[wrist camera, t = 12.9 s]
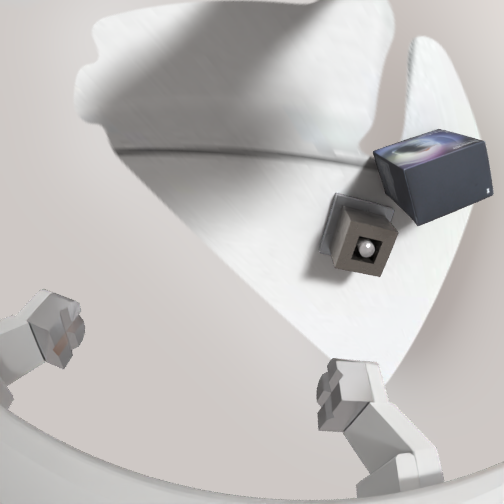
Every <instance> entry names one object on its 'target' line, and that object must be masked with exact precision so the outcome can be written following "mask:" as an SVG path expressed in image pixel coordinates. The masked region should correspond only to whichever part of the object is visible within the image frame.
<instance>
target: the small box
mask: <svg viewBox="0 0 504 504" xmlns="http://www.w3.org/2000/svg"><path fill="white" fill-rule="evenodd" d="M373 155H374V158H375V161H376V164H377V167H378V170H379V173H380V176H381V179H382V183H383V186H384V189H385V193H386V195H388V196H389V197H390V198H391V199H392V200H393V201H394V202H396V203H397V205H399V206H400V207H401V208H402V209H403V210H404V211H405V212H406V213H407V214H408V215H409V216H410V217H411V218H412V220H413V221H414V222H415V223H416V224H417V226H420V225H422V224H425V223H428V222H430V221H433V220H435V219H437V218H440V217H443V216H445V215H447V214H450V213H452V212H455V211H457V210H459V209H462V208H464V207H467V206H469V205H471V204H474V203H476V202H479V201H481V200H483V199H485V198H487V197H490V196H492V195H493V194H494V193H493V186H492V179H491V172H490V165H489V160H488V154H487V149H486V144H485V141H482V140H478V139H475V138H471V137H468V136H464V135H460V134H457V133H453V132H449V131H445V130H441V129H438V130H434V131H431V132H428V133H425V134H422V135H419V136H416V137H413V138H410V139H407V140H404V141H401V142H398V143H395V144H392V145H389V146H386V147H383V148H381V149H378V150H375V151H373Z"/></svg>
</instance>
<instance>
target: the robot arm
mask: <svg viewBox="0 0 504 504" xmlns="http://www.w3.org/2000/svg"><path fill="white" fill-rule="evenodd" d="M80 312H81V308H80V304H79V303H78V302H76V301H74V300H72V299H69V298H66V297H64V296H61V295H59V294H56V293H53V292H50V291H48V290H46V289H42V290H39V292H38V293H37V294H36V295H35V296H34V297H33V298H32V299H31V300H30V301H29V302H28V303H27V304H26V305H25V306H24V307H23V308H22V309H21V311H20V312H19V313H18V314H17V315H16V316H14V315H11V316H9V317H6V318H4V319H1V320H0V504H504V462H501V463H499V464H496V465H494V466H491V467H489V468H486V469H484V470H481V471H478V472H476V473H473V474H470V475H467V476H464V477H460V478H457V479H454V480H450V481H447V482H444V477H443V472H442V468H441V464H440V459H439V456H438V451H437V448H436V447H435V446H434V445H433V444H432V443H431V442H430V441H429V439H427V437H426V436H425V435H424V434H423V433H422V432H421V431H420V430H419V429H418V428H417V427H416V426H415V425H414V424H413V423H412V422H411V421H410V420H409V419H408V418H407V417H406V416H405V415H404V414H403V413H402V411H401V410H400V409H399V408H397V406H396V405H395V404H394V403H389V400H388V396H387V392H386V388H385V385H384V381H383V377H382V374H381V370H380V367H379V364H378V363H377V362H369V361H358V360H347V359H337V358H333V359H331V360H330V362H329V364H328V365H327V368H328V372H326V373H324V374H323V375H322V376H321V378H320V380H319V383H318V387H317V402H318V404H319V405H320V406H321V409H320V410H319V412H318V428H319V431H333V432H344V433H343V434H344V435H345V437H346V439H347V440H348V442H349V443H350V445H351V446H352V448H353V449H354V451H355V452H356V454H357V455H358V457H359V458H360V459H361V461H362V463H363V464H364V465H365V467H366V468H367V470H368V471H369V473H370V475H369V476H367V477H366V478H364V479H363V480H361V481H360V482H359V483H358V484H357V485H356V488H357V498H351V499H336V500H282V499H281V500H280V499H266V498H254V497H246V496H238V495H230V494H224V493H218V492H212V491H206V490H201V489H196V488H191V487H187V486H183V485H179V484H174V483H170V482H167V481H163V480H160V479H156V478H153V477H149V476H146V475H143V474H140V473H137V472H134V471H131V470H128V469H125V468H122V467H120V466H117V465H114V464H112V463H109V462H106V461H104V460H101V459H99V458H96V457H94V456H92V455H90V454H87V453H85V452H83V451H81V450H79V449H76V448H74V447H72V446H70V445H68V444H66V443H64V442H62V441H60V440H58V439H56V438H54V437H52V436H50V435H49V434H47V433H45V432H43V431H42V430H40V429H38V428H36V427H35V426H33V425H31V424H29V423H28V422H26V421H25V420H23V419H21V418H20V417H18V416H17V415H15V414H14V413H12V412H11V411H9V410H8V408H9V406H10V405H11V403H12V401H13V400H14V399H13V395H12V394H11V392H10V391H9V389H8V388H7V386H8V385H9V384H11V383H13V382H14V381H16V380H17V379H19V378H21V377H22V376H24V375H25V374H27V373H29V372H30V371H32V370H34V369H35V368H37V367H38V366H40V365H42V364H43V363H45V361H46V362H48V363H50V364H52V365H55V366H57V367H59V368H62V369H64V368H65V367H66V365H67V363H68V362H69V361H70V359H71V357H72V356H73V354H72V349H74V348H76V347H78V346H79V345H80V343H81V342H82V340H83V337H84V333H85V325H84V321H83V319H82V318H81V317H80V316H79V313H80Z"/></svg>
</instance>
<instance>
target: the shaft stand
mask: <svg viewBox="0 0 504 504" xmlns="http://www.w3.org/2000/svg"><path fill="white" fill-rule="evenodd" d="M342 205H344V206H348V207H352V208H356V209H360V210H364V211H368V212H372V213H376V214H379V215H383V216H385V217H386V218H387V219H388V220H389V221H390V222H391V219H392V217H393V214H394V210H393V208H390V207H387V206H383V205H380V204H376V203H373V202H369V201H365V200H362V199H358V198H354V197H350V196H346V195H342V194H338V193H335V197H334V201H333V204H332V207H331V211H330V214H329V218H328V221H327V224H326V228H325V231H324V234H323V237H322V241H321V244H320V247H319V252H320V253H323V254H328V255H331V253H330V250H329V246H330V243H331V239H332V236H333V233H334V230H335V227H336V224H337V220H338V217H339V214H340V211H341V207H342ZM356 246H357V248H358V250H359V252H360V254H361V255H362V256H363V257H370V256H371V255H372V254H373V253H374V251H375V247H374V245H373V244H372V242H371V240H370V239H369V238H366V237H362V236H359V238H358V241H357V244H356Z"/></svg>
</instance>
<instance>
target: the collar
mask: <svg viewBox="0 0 504 504" xmlns="http://www.w3.org/2000/svg"><path fill="white" fill-rule="evenodd" d="M397 235H398V231H397V230H396V229H395V228H394V226H393V225H392V224H391V223H390V221H389V220H388V219H387V218H386V217H385V216H383V215H379V214H376V213H372V212H368V211H364V210H360V209H356V208H352V207H348V206H344V205H342V207H341V211H340V214H339V217H338V220H337V224H336V227H335V230H334V233H333V236H332V239H331V243H330V246H329V250H330V253H331V257H332V260H333V264H334V267H335V268H338V269H343V270H348V271H353V272H358V273H363V274H368V275H373V276H378V277H380V276H381V274H382V272H383V269H384V267H385V265H386V262H387V260H388V258H389V255H390V253H391V250H392V248H393V245H394V243H395V240H396V238H397ZM359 236H362V237H366V238H369V239H370V240H371V242H372V244H373V245H374V247H375V251H374V253H373V254H372V255H371V256H370V257H363V256H362V255H361V254H360V252H359V250H358V248H357V246H356V244H357V241H358V238H359Z"/></svg>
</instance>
